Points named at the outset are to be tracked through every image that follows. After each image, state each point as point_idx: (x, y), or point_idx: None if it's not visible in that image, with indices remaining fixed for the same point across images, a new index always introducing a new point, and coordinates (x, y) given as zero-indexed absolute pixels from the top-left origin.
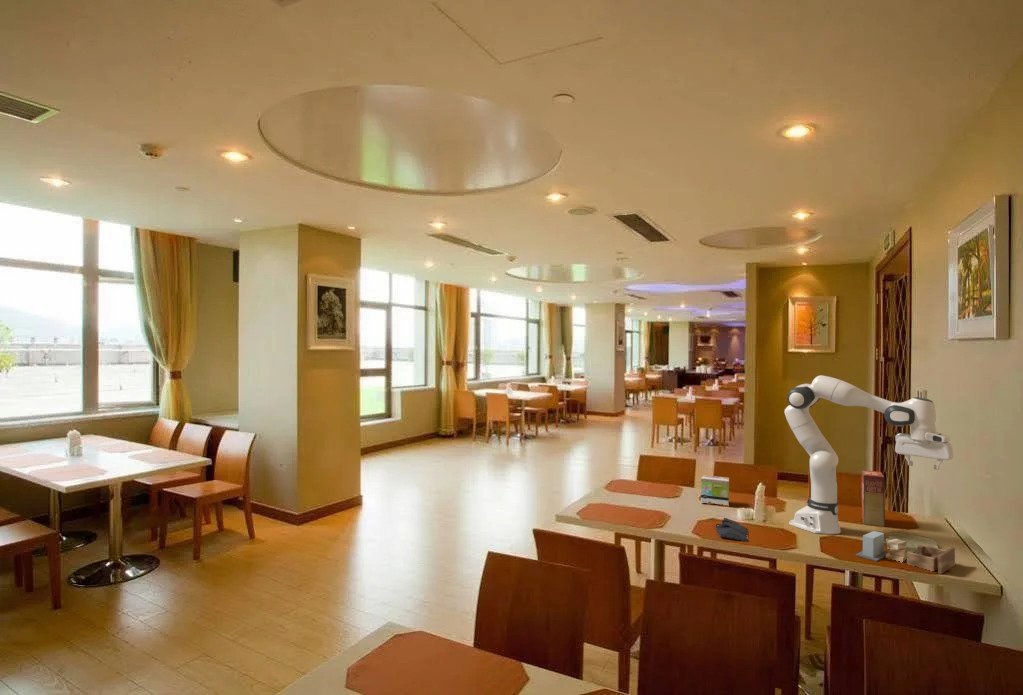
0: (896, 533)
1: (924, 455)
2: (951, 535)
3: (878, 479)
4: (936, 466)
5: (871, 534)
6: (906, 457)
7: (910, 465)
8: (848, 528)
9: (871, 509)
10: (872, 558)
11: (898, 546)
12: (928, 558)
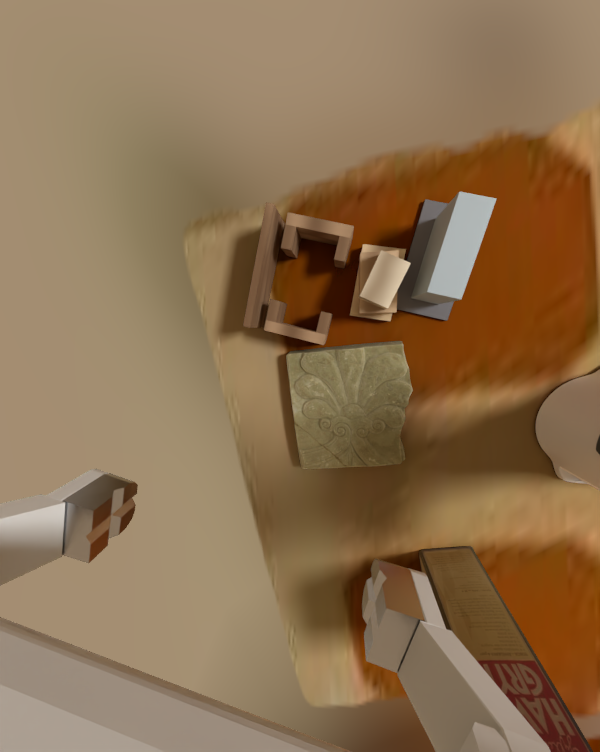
0: (389, 462)
1: (57, 715)
2: (276, 563)
3: None
4: (77, 490)
5: (466, 243)
6: (508, 731)
7: (391, 563)
8: (513, 481)
9: (474, 590)
10: (437, 206)
11: (377, 257)
12: (300, 215)
